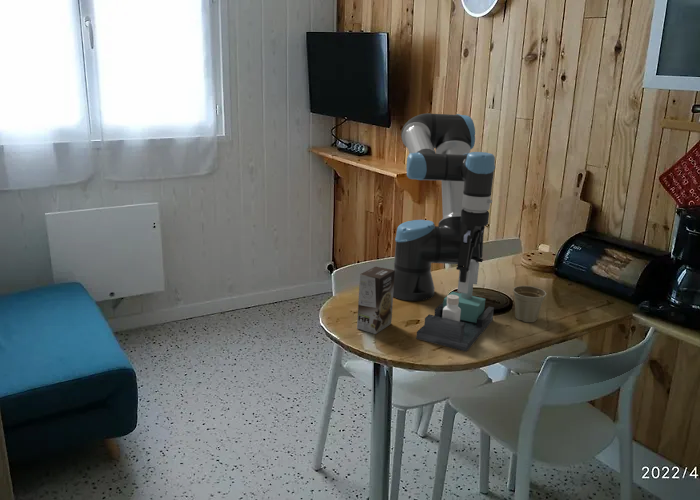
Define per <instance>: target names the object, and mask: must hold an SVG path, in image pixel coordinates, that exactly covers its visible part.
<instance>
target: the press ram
mask: <svg viewBox="0 0 700 500" xmlns="http://www.w3.org/2000/svg"><path fill="white" fill-rule="evenodd" d="M475 263H476V261H475V260H473V259H471V262H470V266H469V271H470V275H469V284H468V293H467V294H466V293H462V292H456V291H451V292H450V293H449V294H448V295H457V296H459V304H458V307H459V308H460V309H461V314H460V320H465V321H469V322H473V323H477V319H478V318H479V317H480V316H481V314H482V313H483V312H484V311H485V307H486V298H483V297H479V296H474V295H473V288H474V284H473V282H474V272H475ZM442 303H443V308H444V307H445V306H447V296H445V297H444V298H443V301H442ZM442 314H443V313H442Z"/></svg>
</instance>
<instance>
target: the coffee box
mask: <svg viewBox="0 0 700 500" xmlns="http://www.w3.org/2000/svg"><path fill="white" fill-rule="evenodd" d="M394 276H395V270H394V269H390V268H387V267H380V266H373V267H372V268H370V269H367V270H365V271H363V272H362V273H359V285H358V286H359V288H358V305H357V306H358V307H357V319H356V320H357V322H356V329H357V330H362V331H364V332H366V333H367V332H368V333H371V334H373V335H377V334H379V333H380V332H381V331H383V330H384V329H386V328H387V327H388V326H390V325H391V324H392V322H393V321H392V318H393V306H394V305H393V304H394V303H393V301H394V297H393V290H394Z"/></svg>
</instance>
